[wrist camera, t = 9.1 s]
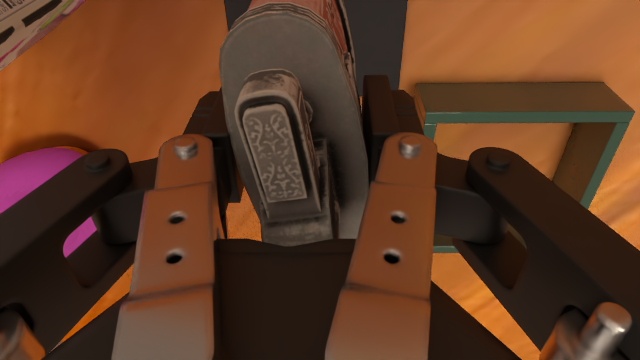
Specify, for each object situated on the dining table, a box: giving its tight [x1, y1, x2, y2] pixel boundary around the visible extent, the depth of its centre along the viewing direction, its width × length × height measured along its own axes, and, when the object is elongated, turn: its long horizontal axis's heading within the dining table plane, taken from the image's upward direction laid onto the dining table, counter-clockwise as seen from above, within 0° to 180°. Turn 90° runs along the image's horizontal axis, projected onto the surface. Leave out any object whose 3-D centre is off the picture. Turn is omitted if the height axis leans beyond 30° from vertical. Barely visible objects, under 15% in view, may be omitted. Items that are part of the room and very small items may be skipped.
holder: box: [414, 82, 635, 253], centre depth 32 cm, size 13×13×4 cm
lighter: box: [219, 0, 369, 247], centre depth 13 cm, size 8×3×10 cm, turn 10°
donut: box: [0, 146, 97, 258], centre depth 35 cm, size 10×10×5 cm
